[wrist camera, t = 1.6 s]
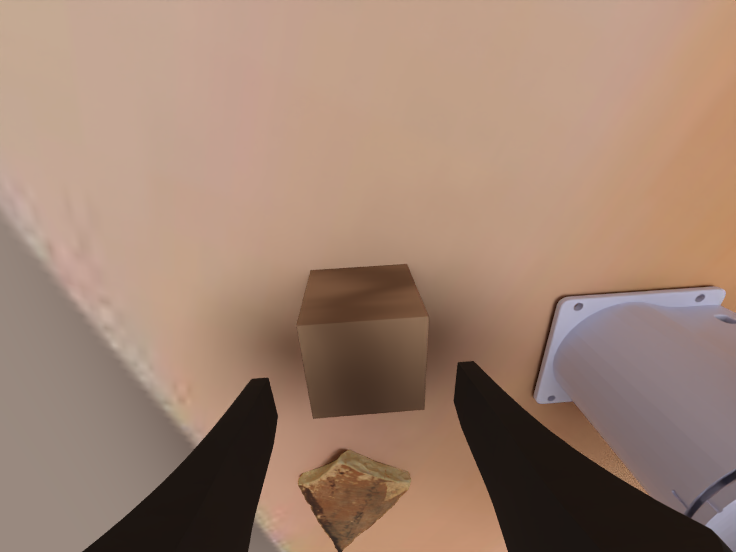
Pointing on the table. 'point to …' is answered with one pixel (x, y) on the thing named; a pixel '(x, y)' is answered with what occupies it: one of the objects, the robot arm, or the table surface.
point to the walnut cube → (363, 341)
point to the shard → (352, 494)
